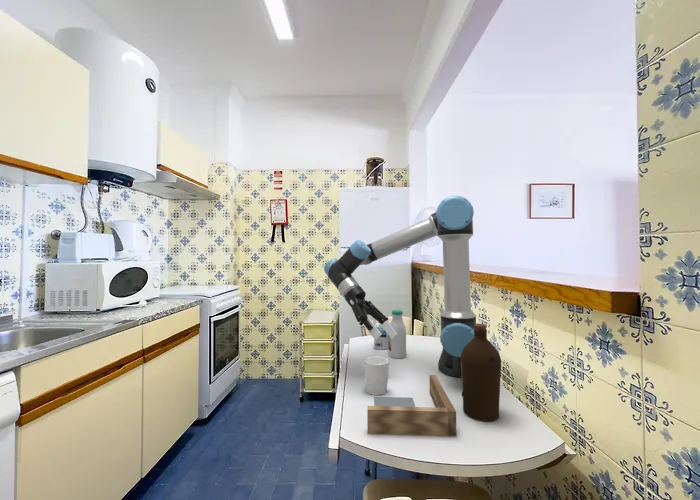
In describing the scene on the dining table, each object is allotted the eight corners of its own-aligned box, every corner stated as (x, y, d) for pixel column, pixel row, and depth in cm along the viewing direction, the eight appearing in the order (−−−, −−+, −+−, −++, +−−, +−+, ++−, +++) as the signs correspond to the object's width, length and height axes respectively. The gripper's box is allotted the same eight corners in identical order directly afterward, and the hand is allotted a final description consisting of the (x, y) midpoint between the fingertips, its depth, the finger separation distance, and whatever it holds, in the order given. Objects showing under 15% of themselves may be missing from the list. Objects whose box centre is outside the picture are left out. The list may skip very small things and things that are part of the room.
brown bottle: (507, 413, 90) (507, 324, 91) (491, 427, 83) (491, 331, 83) (471, 400, 98) (471, 319, 98) (453, 412, 91) (453, 324, 91)
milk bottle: (408, 355, 142) (408, 310, 142) (401, 360, 135) (401, 312, 136) (392, 352, 146) (392, 308, 146) (385, 357, 140) (385, 311, 140)
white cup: (382, 398, 100) (382, 366, 100) (360, 392, 104) (360, 361, 104) (392, 389, 107) (392, 359, 107) (371, 384, 111) (371, 355, 111)
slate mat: (412, 398, 100) (412, 397, 100) (418, 418, 88) (418, 417, 88) (373, 397, 100) (373, 396, 100) (374, 417, 88) (374, 416, 88)
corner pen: (435, 393, 103) (435, 374, 103) (456, 436, 79) (456, 411, 79) (367, 391, 105) (367, 373, 105) (367, 433, 81) (367, 409, 81)
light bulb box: (388, 350, 149) (388, 327, 149) (373, 349, 151) (373, 326, 151) (390, 343, 160) (389, 322, 160) (376, 343, 161) (376, 321, 161)
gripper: (361, 301, 131) (394, 343, 120) (326, 295, 111) (362, 345, 100) (373, 289, 130) (407, 330, 119) (341, 280, 109) (378, 329, 98)
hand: (387, 337), depth 109 cm, fingers open, 13 cm apart
